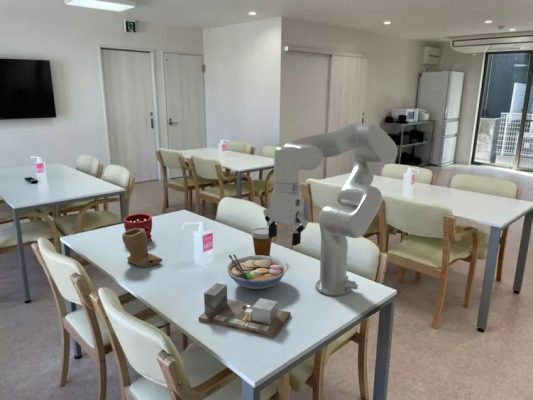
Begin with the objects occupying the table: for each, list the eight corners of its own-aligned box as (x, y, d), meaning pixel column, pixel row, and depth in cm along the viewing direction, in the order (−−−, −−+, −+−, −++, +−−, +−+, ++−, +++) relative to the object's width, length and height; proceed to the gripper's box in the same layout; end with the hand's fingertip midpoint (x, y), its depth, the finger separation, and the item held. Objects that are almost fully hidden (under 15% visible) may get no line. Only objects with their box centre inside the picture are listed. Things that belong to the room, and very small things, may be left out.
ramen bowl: (297, 295, 147) (297, 274, 144) (234, 305, 140) (233, 283, 138) (275, 268, 170) (275, 249, 168) (221, 275, 163) (220, 256, 161)
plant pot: (120, 241, 200) (117, 218, 197) (141, 234, 211) (140, 212, 208) (137, 247, 193) (135, 223, 190) (159, 239, 204) (157, 216, 200)
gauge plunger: (277, 315, 131) (277, 301, 130) (270, 325, 125) (270, 310, 124) (247, 309, 135) (247, 295, 133) (239, 318, 129) (239, 304, 128)
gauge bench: (290, 315, 134) (290, 292, 131) (274, 338, 121) (274, 313, 119) (220, 300, 143) (219, 279, 141) (198, 320, 131) (197, 297, 129)
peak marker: (253, 318, 129) (253, 309, 129) (246, 326, 125) (246, 317, 124) (247, 316, 130) (247, 308, 129) (240, 324, 126) (240, 316, 125)
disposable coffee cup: (248, 259, 179) (247, 233, 176) (256, 251, 188) (256, 226, 184) (268, 262, 176) (268, 235, 172) (276, 254, 184) (276, 228, 181)
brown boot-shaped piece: (119, 262, 176) (116, 229, 172) (144, 254, 184) (142, 222, 181) (138, 272, 166) (134, 237, 162) (163, 264, 174) (161, 230, 170)
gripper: (316, 190, 122) (313, 244, 126) (272, 181, 133) (271, 232, 137) (300, 193, 117) (298, 250, 120) (256, 184, 128) (255, 237, 132)
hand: (284, 240), depth 129 cm, fingers open, 9 cm apart
